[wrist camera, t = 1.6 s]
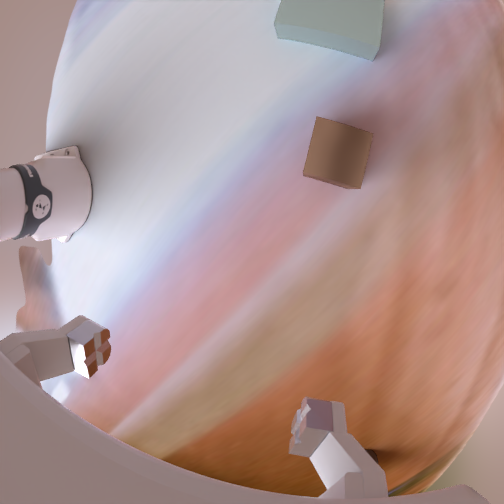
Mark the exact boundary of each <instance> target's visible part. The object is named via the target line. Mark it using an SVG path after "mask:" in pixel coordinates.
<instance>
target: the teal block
mask: <svg viewBox="0 0 504 504" xmlns="http://www.w3.org/2000/svg"><path fill="white" fill-rule="evenodd" d="M384 1H385V0H281V3H280V6H279V9H278V12H277V15H276V18H275V21H274V25H275V29H276V33H277V37H278V38H279V39H286V40H292V41H297V42H303V43H308V44H312V45H317V46H321V47H326V48H330V49H333V50H337V51H341V52H345V53H348V54H351V55H355V56H358V57H361V58H364V59H367V60H370V61H373V60H374V58H375V56H376V54H377V52H378V50H379V48H380V42H381V33H382V24H383V13H384Z"/></svg>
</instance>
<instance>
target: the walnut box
mask: <svg viewBox="0 0 504 504" xmlns="http://www.w3.org/2000/svg"><path fill="white" fill-rule="evenodd" d="M372 137H373V133H370V132H367V131H364V130H361V129H358V128H355V127H352V126H349V125H346V124H342V123H339V122H335V121H332V120H328V119H325V118H321V117H316V121H315V125H314V129H313V134H312V138H311V142H310V146H309V150H308V154H307V158H306V162H305V166H304V170H303V175H304V176H306V177H309V178H313V179H316V180H320V181H323V182H327V183H330V184H333V185H337V186H340V187H343V188H346V189H361V185H362V181H363V177H364V173H365V169H366V164H367V160H368V156H369V151H370V147H371V142H372Z"/></svg>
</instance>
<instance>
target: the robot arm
mask: <svg viewBox="0 0 504 504" xmlns="http://www.w3.org/2000/svg"><path fill="white" fill-rule="evenodd" d="M91 199H92V189H91V181H90V177H89V174H88V171H87V169H86V167H85V166H84V164H83V163H82V161H81V159H80V154H79V150H78V147H77V146H70V147H66V148H62V149H58V150H54V151H50V152H47V153H44V154H40V155H37V156H36V157H35V159H34V161H31V162H28V163H26V164H17V165H13V166H11V167H9V168H3V169H0V241H3V240H7V239H10V238H12V239H23V238H26V237H28V236H32V237H33V238H34V239H35V240H36V241H42V240H47V239H53V238H57V239H58V240H59V241H61V242H62V243H64V242H67V241H68V240H69V239H70V237H71V235H72V233H74V232H75V231H77V230H78V229H79V228H81V226H82V225H83V224H84V222H85V221H86V219H87V217H88V214H89V211H90V206H91ZM109 338H110V331H109V330H108V329H107V328H105V327H103V326H101V325H99V324H98V323H96V322H94V321H92V320H90V319H88V318H86V317H85V316H83V315H79V316H77V317H76V318H74V319H73V320H71V321H70V322H68V323H67V324H65V325H64V326H63V327H61V328H60V329H58V330H56V329H48V330H40V331H30V332H20V333H12V334H10V335H9V336H7V337H6V338H4V339H3V340H1V341H0V504H490V502H489V501H488V500H487V499H486V498H484V497H483V496H482V495H480V494H479V493H478V492H477V491H475V490H474V489H472V488H471V487H469V486H467V485H456V486H452V487H448V488H444V489H439V490H435V491H430V492H424V493H418V494H411V495H404V496H395V497H388V491H387V484H386V477H385V472H384V471H383V469H382V468H381V467H380V466H379V465H378V464H377V463H376V462H375V461H374V460H373V458H372V457H371V456H370V455H369V454H368V453H367V452H366V451H365V450H364V448H363V447H362V446H361V445H360V444H359V443H358V442H357V440H356V439H355V438H354V437H353V436H352V435H351V434H347V426H346V417H345V409H344V404H343V403H341V402H334V401H327V400H321V399H316V398H310V397H305V398H304V399H303V401H302V403H301V409H299V410H297V412H296V414H295V416H294V419H293V422H292V427H291V433H292V434H293V436H292V438H291V440H290V445H289V454H295V455H300V456H306V457H310V460H311V462H312V463H313V465H314V467H315V469H316V471H317V472H318V474H319V476H320V478H321V479H322V481H323V483H324V485H325V486H326V488H327V491H326V492H324V493H323V494H322V495H321V496H319V497H318V498H315V497H304V496H294V495H287V494H280V493H273V492H267V491H262V490H257V489H252V488H247V487H243V486H239V485H235V484H231V483H227V482H223V481H219V480H216V479H213V478H209V477H206V476H203V475H200V474H197V473H194V472H191V471H188V470H185V469H183V468H180V467H177V466H175V465H172V464H170V463H167V462H165V461H162V460H160V459H157V458H155V457H153V456H151V455H148V454H146V453H144V452H142V451H140V450H138V449H136V448H134V447H132V446H130V445H128V444H126V443H124V442H122V441H120V440H118V439H116V438H114V437H113V436H111V435H109V434H107V433H106V432H104V431H102V430H100V429H99V428H97V427H95V426H94V425H92V424H91V423H89V422H87V421H86V420H84V419H83V418H81V417H80V416H78V415H77V414H75V413H74V412H72V411H71V410H69V409H68V408H66V407H65V406H64V405H62V404H61V403H59V402H58V401H57V400H55V399H54V398H53V397H51V396H50V395H49V394H48V393H46V392H45V391H44V390H43V389H42V386H41V383H40V381H43V380H46V379H50V378H53V377H56V376H59V375H63V374H66V373H69V372H72V371H74V370H75V371H77V372H78V373H80V374H82V375H83V376H85V377H87V378H90V377H91V376H92V375H93V374H94V373H95V372H96V371H97V370H98V366H99V365H104V364H105V363H106V361H107V360H108V358H109V356H110V353H111V345H110V343H109V342H108V339H109Z"/></svg>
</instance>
